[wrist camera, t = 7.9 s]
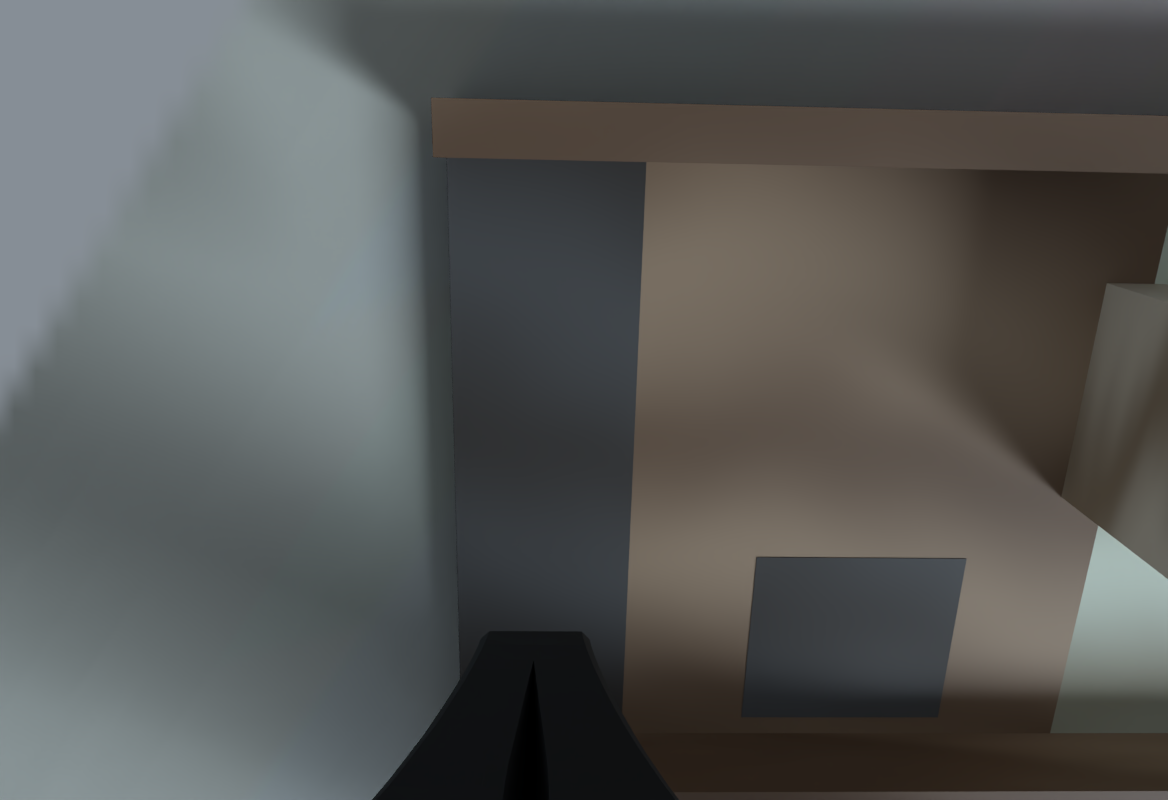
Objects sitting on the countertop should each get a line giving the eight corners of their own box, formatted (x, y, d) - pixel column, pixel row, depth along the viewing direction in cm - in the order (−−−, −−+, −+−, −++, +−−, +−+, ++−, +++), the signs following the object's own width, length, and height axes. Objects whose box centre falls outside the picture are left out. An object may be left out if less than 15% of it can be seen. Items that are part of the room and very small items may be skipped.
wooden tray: (1309, 738, 24) (1412, 823, 21) (466, 739, 23) (453, 827, 20) (1522, 125, 19) (1695, 128, 16) (450, 99, 18) (430, 97, 15)
